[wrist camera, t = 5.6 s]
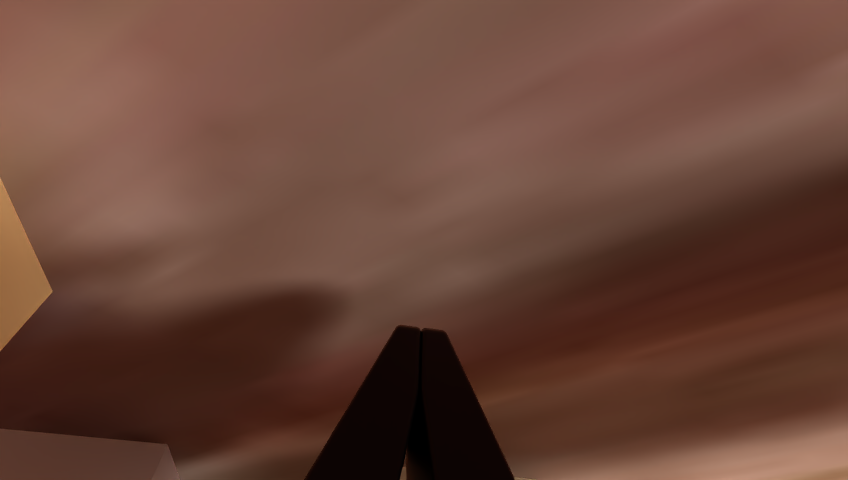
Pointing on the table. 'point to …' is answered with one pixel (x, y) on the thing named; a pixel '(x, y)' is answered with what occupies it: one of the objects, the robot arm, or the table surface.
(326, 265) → the table surface
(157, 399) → the table surface
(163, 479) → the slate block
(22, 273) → the mustard block
